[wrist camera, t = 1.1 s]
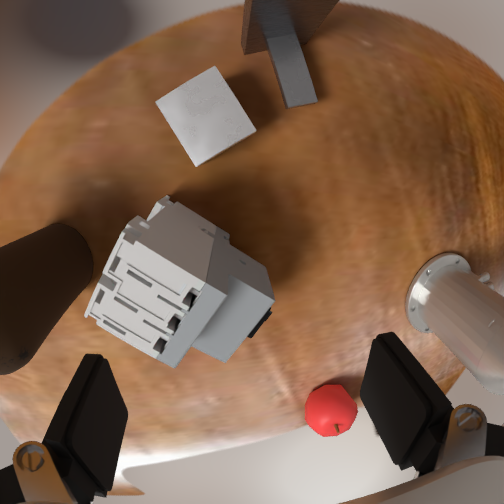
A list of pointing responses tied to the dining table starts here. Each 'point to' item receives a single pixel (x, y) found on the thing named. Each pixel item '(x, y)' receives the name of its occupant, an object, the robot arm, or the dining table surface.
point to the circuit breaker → (180, 287)
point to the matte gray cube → (206, 116)
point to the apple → (330, 410)
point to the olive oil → (38, 289)
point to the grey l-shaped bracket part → (285, 41)
